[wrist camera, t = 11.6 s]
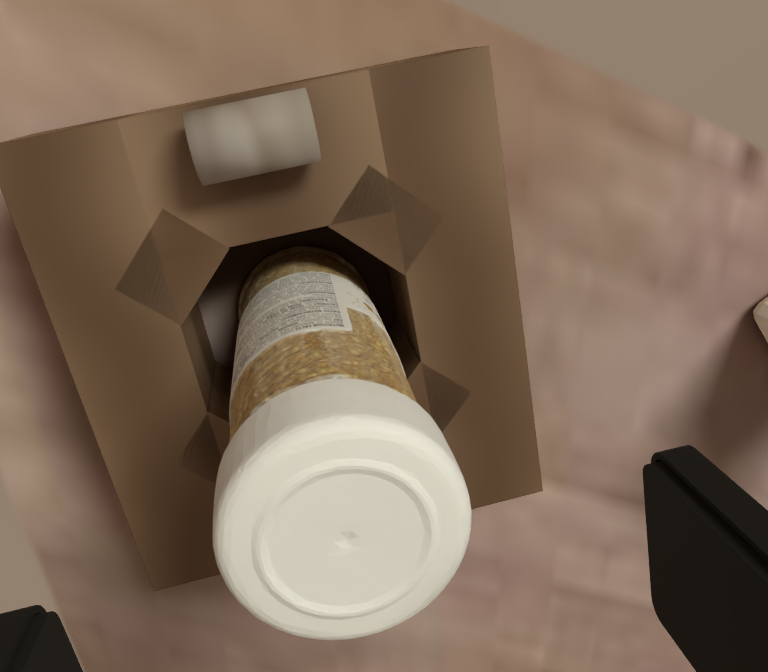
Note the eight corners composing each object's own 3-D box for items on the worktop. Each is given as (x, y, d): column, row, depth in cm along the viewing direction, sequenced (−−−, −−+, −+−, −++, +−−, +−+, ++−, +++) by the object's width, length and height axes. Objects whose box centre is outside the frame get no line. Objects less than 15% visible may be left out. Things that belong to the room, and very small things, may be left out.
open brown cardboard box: (451, 50, 23) (511, 42, 17) (504, 434, 28) (563, 521, 22) (32, 134, 21) (-44, 154, 16) (168, 518, 27) (145, 631, 21)
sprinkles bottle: (381, 349, 26) (496, 611, 13) (256, 382, 25) (252, 682, 13) (353, 226, 24) (453, 391, 11) (218, 259, 24) (171, 466, 11)
